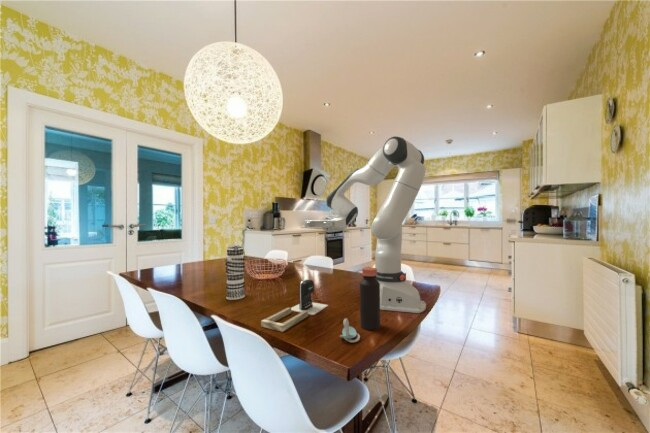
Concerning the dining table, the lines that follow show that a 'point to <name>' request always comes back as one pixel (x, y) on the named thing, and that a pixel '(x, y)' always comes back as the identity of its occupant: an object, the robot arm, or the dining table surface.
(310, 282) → the black upright rounded piece
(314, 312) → the tile pad
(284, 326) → the beige rectangular frame
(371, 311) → the bottle
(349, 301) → the dining table surface
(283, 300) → the dining table surface
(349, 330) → the pacifier
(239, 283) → the decorative candle
